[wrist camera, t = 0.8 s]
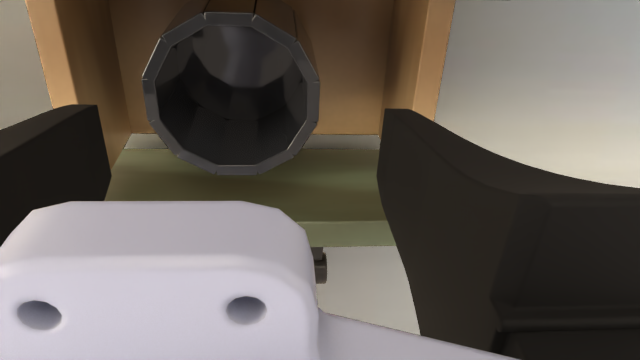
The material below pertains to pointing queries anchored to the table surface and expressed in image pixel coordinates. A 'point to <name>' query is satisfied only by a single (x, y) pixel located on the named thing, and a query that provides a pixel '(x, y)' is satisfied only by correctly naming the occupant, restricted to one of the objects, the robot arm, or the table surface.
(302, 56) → the dark grey cup
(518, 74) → the table surface
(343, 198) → the drawer
